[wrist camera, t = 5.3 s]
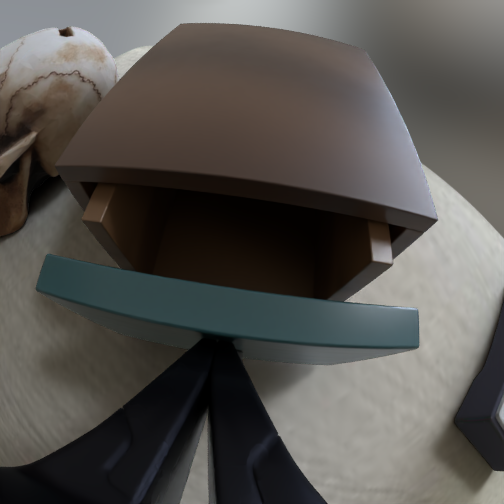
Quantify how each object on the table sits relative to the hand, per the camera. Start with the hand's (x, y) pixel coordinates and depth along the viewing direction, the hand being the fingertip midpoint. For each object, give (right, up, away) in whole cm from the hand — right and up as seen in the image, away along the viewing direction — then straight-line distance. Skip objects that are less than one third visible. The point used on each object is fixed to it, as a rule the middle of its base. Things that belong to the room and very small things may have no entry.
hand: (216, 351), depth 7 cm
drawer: (0, +3, +8) cm, 8 cm away
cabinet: (+1, +7, +11) cm, 13 cm away
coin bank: (-18, +10, +11) cm, 23 cm away
